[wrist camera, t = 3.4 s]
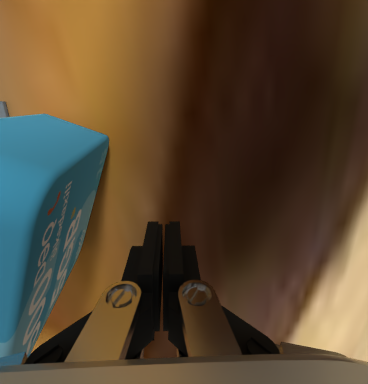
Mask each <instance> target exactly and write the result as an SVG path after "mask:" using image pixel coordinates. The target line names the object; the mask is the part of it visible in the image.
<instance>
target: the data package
mask: <svg viewBox="0 0 368 384" xmlns="http://www.w3.org/2000/svg"><path fill="white" fill-rule="evenodd" d="M108 146H109V138H108V136H107V135H104V134H102V133H99V132H96V131H93V130H90V129H87V128H84V127H82V126H79V125H76V124H73V123H70V122H67V121H65V120H62V119H59V118H56V117H53V116H50V115H48V114H37V115H26V116H16V117H5V118H0V358H1V357H5V356H9V355H13V354H17V353H21V352H26V354H27V355H28V354H30V353H31V351H32V349H33V347H34V345H35V343H36V341H37V339H38V337H39V335H40V333H41V331H42V329H43V327H44V325H45V323H46V321H47V319H48V317H49V315H50V313H51V311H52V309H53V307H54V305H55V303H56V301H57V298H58V296H59V294H60V292H61V290H62V288H63V286H64V284H65V282H66V280H67V278H68V276H69V274H70V272H71V270H72V268H73V266H74V264H75V262H76V260H77V258H78V255H79V253H80V250H81V247H82V244H83V241H84V237H85V234H86V230H87V226H88V222H89V219H90V215H91V211H92V207H93V204H94V200H95V196H96V192H97V188H98V185H99V181H100V177H101V173H102V170H103V166H104V162H105V158H106V155H107V151H108Z"/></svg>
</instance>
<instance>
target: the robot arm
mask: <svg viewBox="0 0 368 384" xmlns="http://www.w3.org/2000/svg"><path fill="white" fill-rule="evenodd" d="M162 273H163V331H168V340H169V341H170V342H171V343H173V344H174V345H175V346H176V347H177V358H152V359H143V356H144V348H145V347H146V346H147V345H148V344H149V343H150V342H151V341H152V340H154V333H155V331H159V330H160V311H161V292H162ZM0 384H368V362H366V361H362V360H357V359H352V358H348V357H346V356H344V355H342V354H339V353H336V352H331V351H326V350H321V349H316V348H311V347H306V346H300V345H295V344H290V343H285V342H281V343H280V345H278V344H274V342H273V341H272V340H270V339H269V338H268V337H267V336H265V335H264V334H263V333H261V332H260V331H258V330H257V329H255V328H254V327H252V326H251V325H249V324H248V323H246V322H245V321H243V320H242V319H240V318H239V317H238V316H236V315H235V314H233V313H232V312H230V311H229V310H227V309H226V308H224V307H223V306H221V304H220V302H219V299H218V297H217V295H216V293H215V290H214V289H213V287H212V286H211V285H210V284H208V283H207V282H204V281H201V280H200V274H199V268H198V263H197V257H196V251H195V246H181V234H180V222H170V224H165V245H164V265H163V240H162V224H159V223H158V222H148V224H147V229H146V234H145V239H144V243H143V246H132V247H131V250H130V253H129V257H128V260H127V263H126V267H125V270H124V274H123V277H122V280H121V282H117V283H115V284H112V285H111V286H109V287H108V288H107V289H106V290H105V291H104V293H103V294H102V296H101V298H100V299H99V301H98V303H97V305H96V307H95V308H94V310H93V311H92V312H90V313H89V314H87V315H86V316H84V317H83V318H81V319H80V320H78V321H77V322H75V323H74V324H72V325H71V326H69V327H68V328H66V329H65V330H63V331H62V332H60V333H58V334H57V335H55V336H54V337H52V338H51V339H49V340H48V341H46V342H45V343H43V344H42V345H40V346H39V347H38V348H37V349H35V350H34V351H33V352H32V353H31V354H28V355H27V354H26V352H21V353H17V354H13V355H9V356H5V357H1V358H0Z"/></svg>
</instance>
